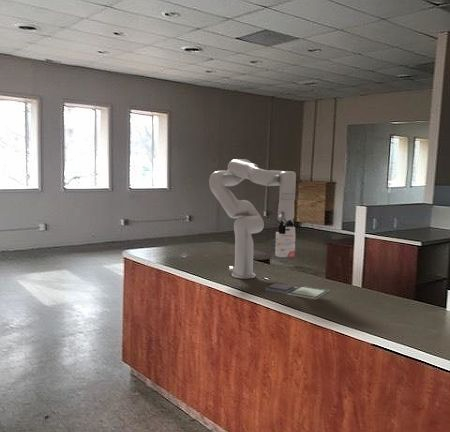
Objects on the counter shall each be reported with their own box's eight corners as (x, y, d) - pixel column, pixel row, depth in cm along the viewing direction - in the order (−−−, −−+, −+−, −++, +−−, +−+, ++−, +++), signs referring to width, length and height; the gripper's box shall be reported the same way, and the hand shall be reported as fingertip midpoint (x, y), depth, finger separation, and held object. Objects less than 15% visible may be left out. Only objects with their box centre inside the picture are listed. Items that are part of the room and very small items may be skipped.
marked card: (286, 294, 223) (286, 292, 222) (301, 286, 237) (301, 285, 237) (315, 299, 215) (315, 298, 215) (329, 291, 230) (329, 289, 230)
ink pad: (265, 290, 228) (265, 286, 228) (274, 286, 237) (274, 282, 237) (286, 294, 223) (286, 290, 222) (295, 289, 231) (295, 286, 231)
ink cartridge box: (290, 254, 241) (291, 225, 239) (295, 256, 236) (296, 226, 234) (274, 255, 238) (275, 225, 236) (278, 257, 233) (279, 227, 232)
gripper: (287, 195, 243) (285, 229, 245) (272, 197, 228) (271, 233, 230) (301, 196, 239) (299, 231, 241) (287, 198, 224) (286, 235, 226)
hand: (286, 232), depth 235 cm, fingers closed on ink cartridge box, 9 cm apart
